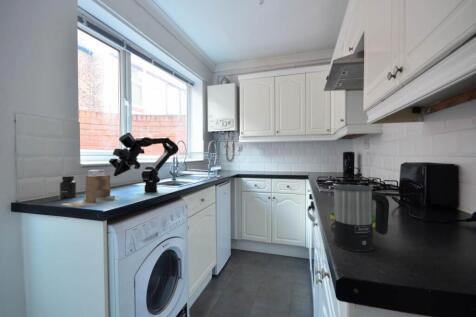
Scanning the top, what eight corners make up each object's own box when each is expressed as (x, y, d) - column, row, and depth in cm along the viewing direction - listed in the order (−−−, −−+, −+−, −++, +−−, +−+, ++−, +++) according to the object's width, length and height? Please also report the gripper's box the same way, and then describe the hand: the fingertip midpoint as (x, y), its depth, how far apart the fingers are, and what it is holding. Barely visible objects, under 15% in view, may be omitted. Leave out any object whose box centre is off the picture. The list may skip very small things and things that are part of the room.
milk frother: (355, 255, 50) (355, 190, 50) (307, 233, 65) (307, 182, 64) (395, 245, 56) (395, 186, 56) (343, 227, 70) (343, 180, 70)
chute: (102, 199, 115) (102, 193, 115) (121, 201, 109) (121, 195, 109) (60, 206, 98) (60, 199, 98) (80, 209, 92) (80, 202, 92)
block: (102, 198, 111) (102, 174, 110) (110, 199, 108) (110, 175, 108) (85, 201, 103) (85, 176, 103) (93, 202, 101) (93, 176, 101)
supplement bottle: (59, 201, 109) (59, 177, 109) (59, 199, 114) (59, 176, 114) (76, 199, 114) (76, 176, 114) (75, 197, 119) (75, 175, 119)
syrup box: (105, 194, 129) (104, 169, 129) (97, 196, 123) (97, 170, 123) (95, 194, 130) (95, 169, 130) (88, 195, 124) (87, 170, 124)
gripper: (111, 144, 122) (91, 165, 112) (134, 142, 114) (115, 165, 104) (124, 157, 129) (107, 178, 120) (147, 157, 121) (130, 180, 112)
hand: (114, 175), depth 114 cm, fingers closed
